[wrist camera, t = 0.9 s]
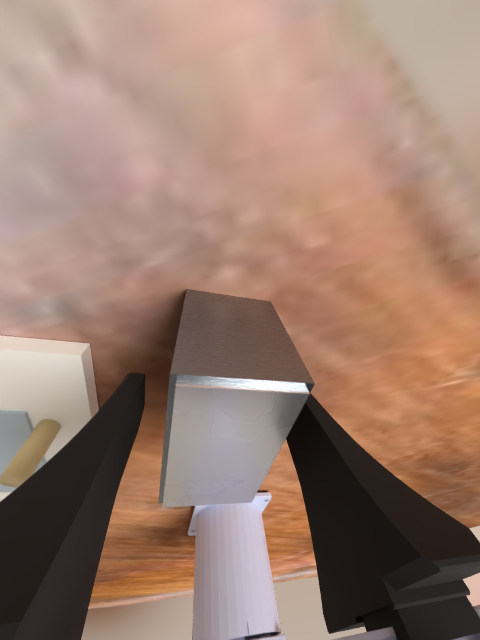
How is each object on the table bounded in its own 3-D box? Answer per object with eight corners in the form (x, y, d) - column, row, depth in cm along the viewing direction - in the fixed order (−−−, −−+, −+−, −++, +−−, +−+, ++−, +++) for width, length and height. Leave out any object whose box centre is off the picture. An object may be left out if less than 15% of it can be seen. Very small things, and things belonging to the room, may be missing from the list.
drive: (238, 399, 16) (254, 504, 11) (174, 396, 15) (157, 509, 10) (270, 301, 12) (318, 390, 7) (186, 288, 11) (168, 380, 6)
